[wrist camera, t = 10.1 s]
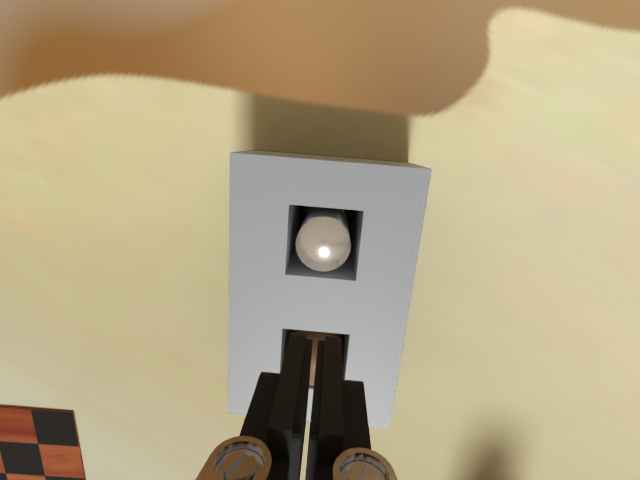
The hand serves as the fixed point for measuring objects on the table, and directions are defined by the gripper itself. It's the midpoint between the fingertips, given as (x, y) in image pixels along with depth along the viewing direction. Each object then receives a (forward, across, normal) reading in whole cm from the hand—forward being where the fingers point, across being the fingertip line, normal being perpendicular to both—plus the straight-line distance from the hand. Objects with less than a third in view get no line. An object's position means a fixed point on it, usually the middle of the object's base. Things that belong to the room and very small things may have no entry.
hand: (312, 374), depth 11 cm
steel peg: (+22, 0, 0) cm, 23 cm away
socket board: (+23, 0, +5) cm, 24 cm away
